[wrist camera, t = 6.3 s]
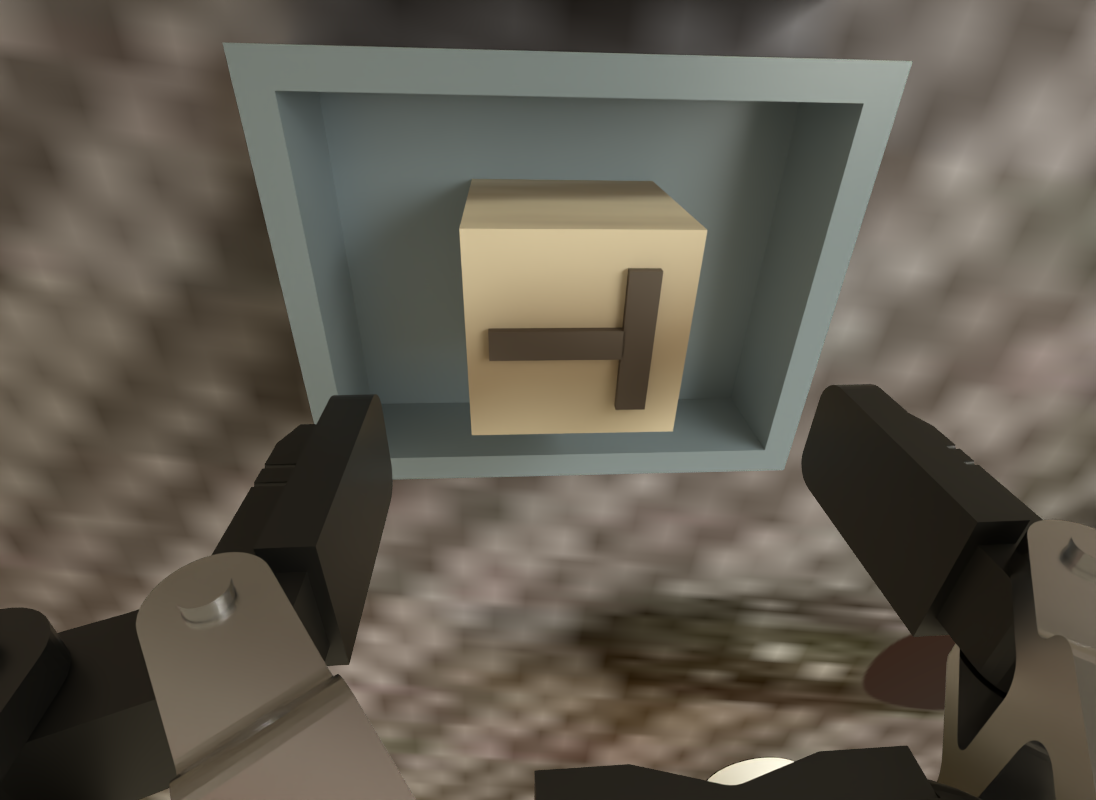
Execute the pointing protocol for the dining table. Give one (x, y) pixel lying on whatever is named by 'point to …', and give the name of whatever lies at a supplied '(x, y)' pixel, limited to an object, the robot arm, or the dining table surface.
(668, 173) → the slate bin
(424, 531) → the dining table surface
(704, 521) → the dining table surface
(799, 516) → the dining table surface
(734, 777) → the champagne flute
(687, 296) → the letter cube
